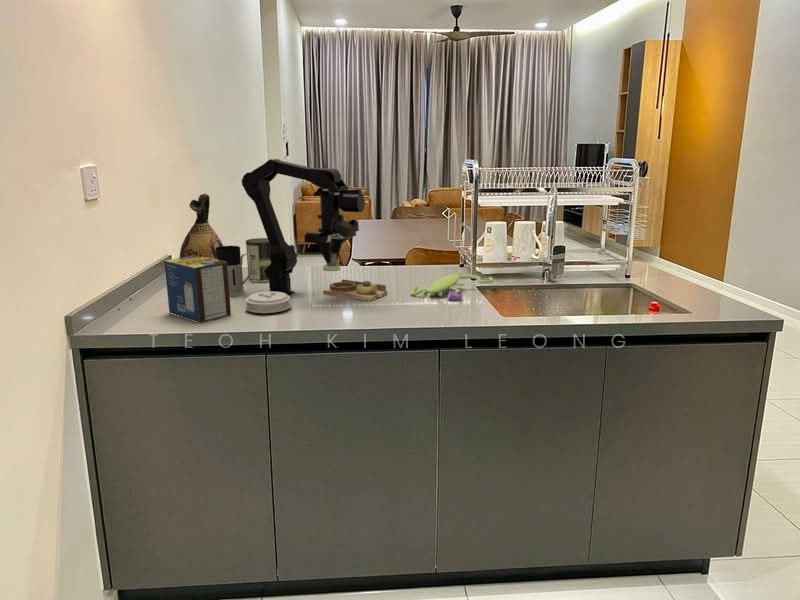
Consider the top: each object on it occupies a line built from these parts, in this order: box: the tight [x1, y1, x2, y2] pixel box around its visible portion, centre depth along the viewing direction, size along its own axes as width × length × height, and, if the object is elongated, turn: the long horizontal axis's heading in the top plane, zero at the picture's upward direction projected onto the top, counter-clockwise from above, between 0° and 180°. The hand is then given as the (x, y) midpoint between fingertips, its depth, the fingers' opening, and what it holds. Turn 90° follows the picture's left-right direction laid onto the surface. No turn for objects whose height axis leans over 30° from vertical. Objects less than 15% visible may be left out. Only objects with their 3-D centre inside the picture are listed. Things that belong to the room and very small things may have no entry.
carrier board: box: [322, 279, 388, 302], centre depth 194 cm, size 10×18×5 cm, turn 59°
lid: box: [245, 291, 291, 314], centre depth 176 cm, size 13×13×5 cm
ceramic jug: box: [179, 193, 224, 259], centre depth 212 cm, size 17×15×30 cm
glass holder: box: [216, 245, 252, 298], centre depth 192 cm, size 9×14×15 cm, turn 59°
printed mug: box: [245, 237, 271, 283], centre depth 214 cm, size 10×10×14 cm
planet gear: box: [322, 253, 341, 272], centre depth 187 cm, size 5×5×5 cm
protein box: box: [163, 255, 232, 323], centre depth 170 cm, size 10×15×16 cm
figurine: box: [410, 272, 495, 302], centre depth 197 cm, size 18×27×6 cm
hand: (331, 262), depth 187 cm, fingers closed on planet gear, 3 cm apart
